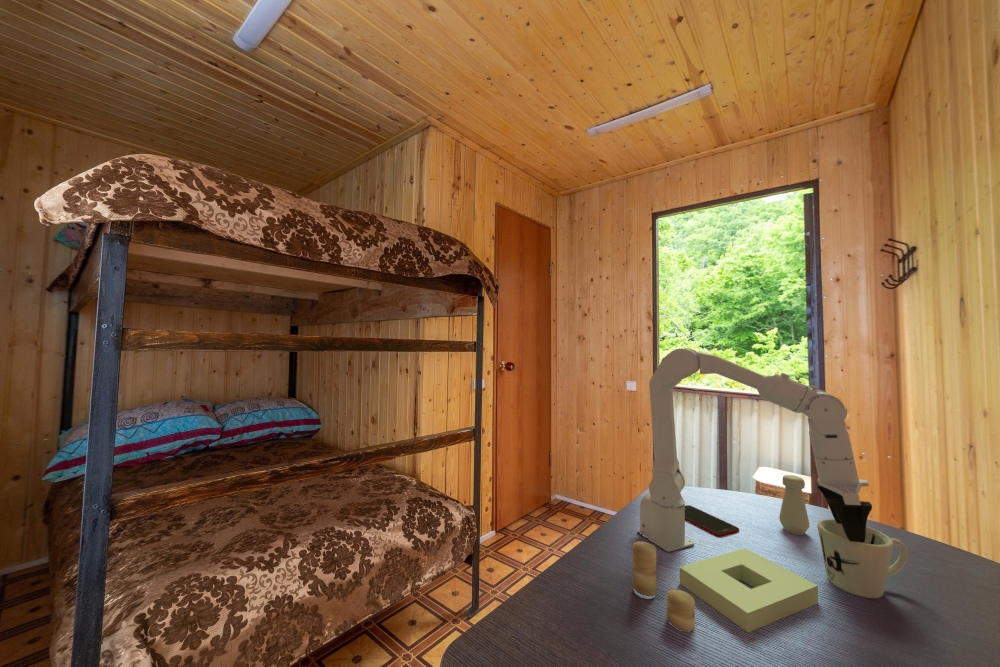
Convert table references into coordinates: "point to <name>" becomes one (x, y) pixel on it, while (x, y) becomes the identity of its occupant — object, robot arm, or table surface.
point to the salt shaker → (794, 506)
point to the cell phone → (709, 522)
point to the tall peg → (644, 568)
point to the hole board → (740, 604)
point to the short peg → (681, 610)
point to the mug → (859, 559)
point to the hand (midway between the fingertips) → (849, 531)
